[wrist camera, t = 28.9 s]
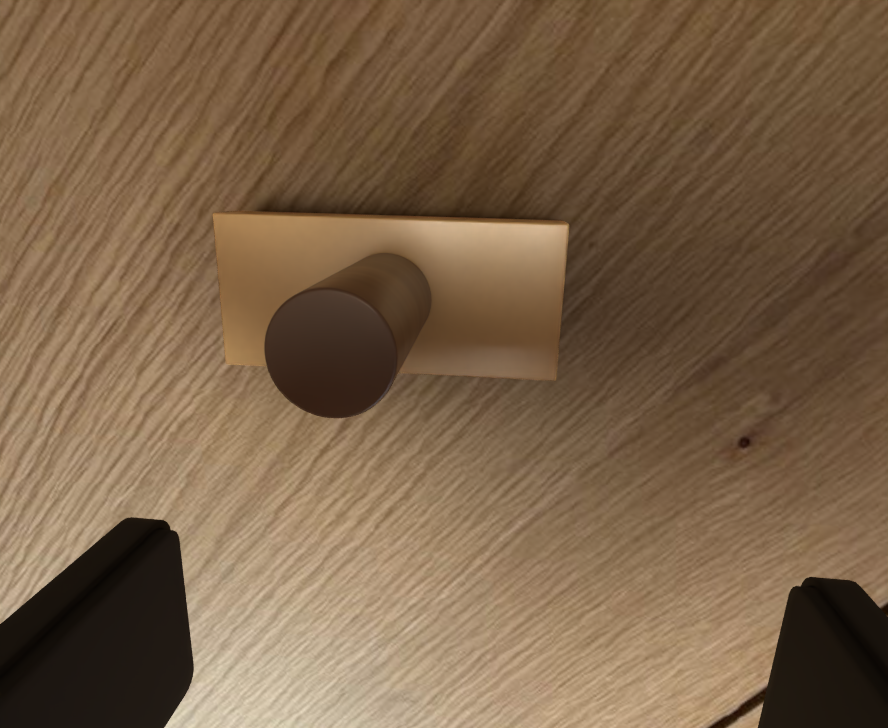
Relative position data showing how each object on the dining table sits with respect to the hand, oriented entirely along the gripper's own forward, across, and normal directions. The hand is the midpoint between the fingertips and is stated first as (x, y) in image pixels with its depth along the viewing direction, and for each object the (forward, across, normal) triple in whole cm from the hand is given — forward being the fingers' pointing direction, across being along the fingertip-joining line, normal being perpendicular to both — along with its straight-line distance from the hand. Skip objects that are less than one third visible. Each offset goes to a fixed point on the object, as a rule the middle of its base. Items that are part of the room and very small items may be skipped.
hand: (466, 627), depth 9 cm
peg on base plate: (+12, +3, -3) cm, 13 cm away
